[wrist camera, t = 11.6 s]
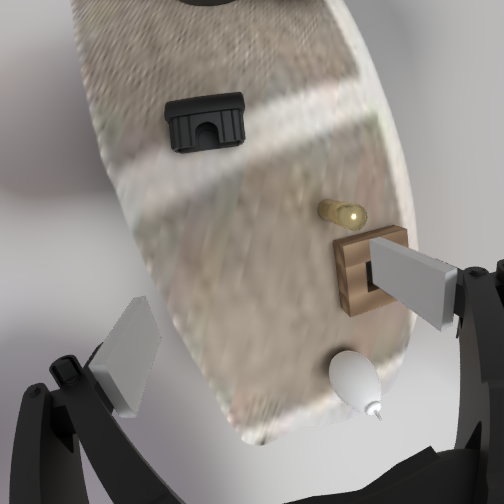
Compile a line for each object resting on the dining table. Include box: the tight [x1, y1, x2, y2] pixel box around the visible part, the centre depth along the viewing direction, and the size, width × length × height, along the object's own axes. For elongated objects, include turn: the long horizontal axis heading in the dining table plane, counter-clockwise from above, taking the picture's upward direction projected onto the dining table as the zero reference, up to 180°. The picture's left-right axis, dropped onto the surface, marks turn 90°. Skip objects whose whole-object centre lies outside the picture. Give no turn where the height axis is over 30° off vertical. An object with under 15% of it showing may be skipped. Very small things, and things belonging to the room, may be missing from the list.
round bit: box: [318, 199, 367, 231], centre depth 37 cm, size 3×3×10 cm
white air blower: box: [329, 351, 382, 421], centre depth 40 cm, size 8×8×18 cm
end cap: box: [164, 92, 245, 154], centre depth 34 cm, size 10×7×7 cm
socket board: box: [333, 225, 408, 317], centre depth 43 cm, size 12×12×4 cm
